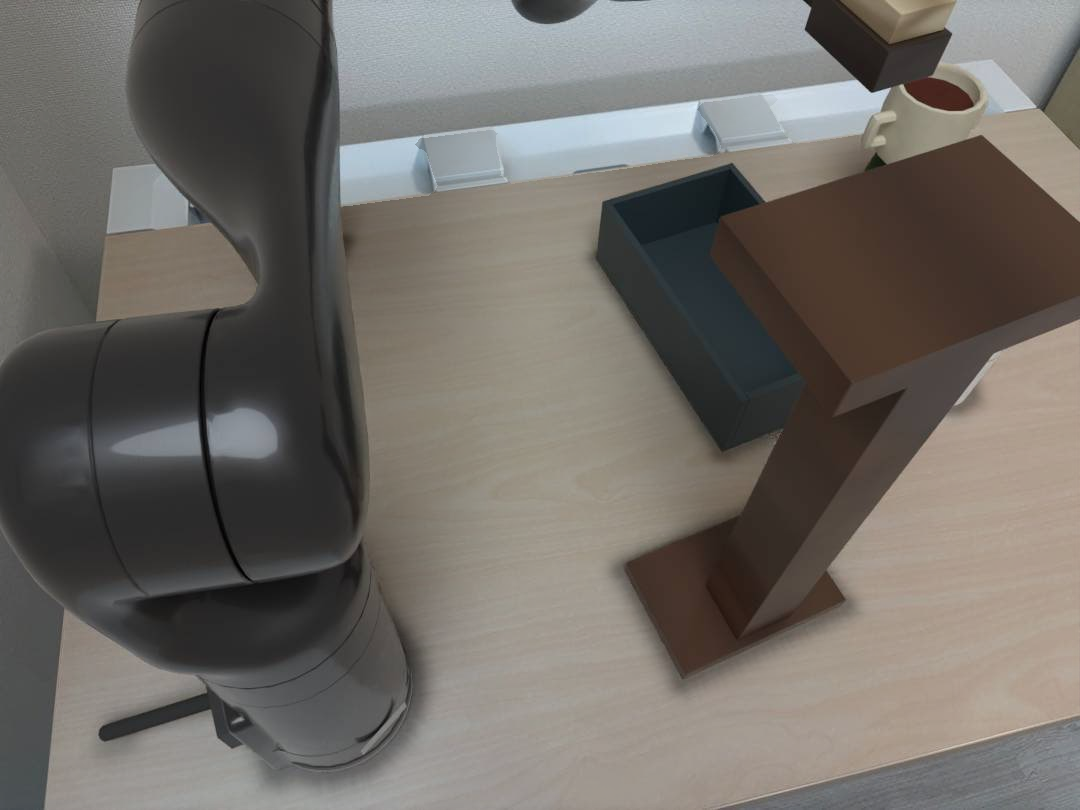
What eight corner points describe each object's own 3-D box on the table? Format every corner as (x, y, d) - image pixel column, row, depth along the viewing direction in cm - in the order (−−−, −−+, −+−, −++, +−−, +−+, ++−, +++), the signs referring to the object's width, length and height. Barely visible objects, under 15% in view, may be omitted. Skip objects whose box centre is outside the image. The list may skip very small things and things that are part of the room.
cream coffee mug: (914, 174, 80) (976, 49, 69) (954, 225, 76) (1027, 102, 65) (811, 194, 78) (858, 69, 67) (847, 247, 74) (904, 124, 63)
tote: (721, 452, 62) (741, 401, 56) (595, 259, 73) (602, 201, 67) (857, 398, 65) (888, 346, 59) (716, 220, 76) (732, 162, 70)
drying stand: (682, 679, 52) (852, 383, 26) (624, 570, 56) (719, 216, 30) (840, 606, 55) (1138, 272, 29) (774, 507, 59) (982, 133, 33)
